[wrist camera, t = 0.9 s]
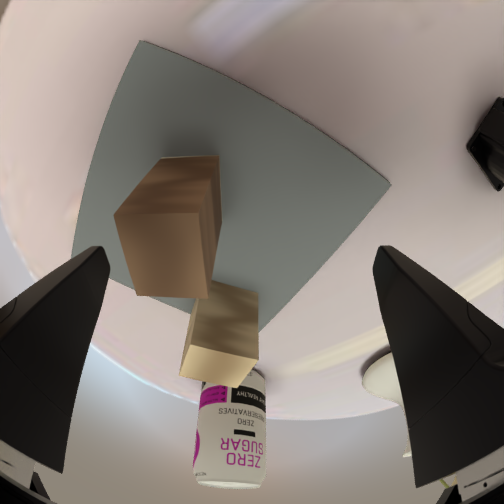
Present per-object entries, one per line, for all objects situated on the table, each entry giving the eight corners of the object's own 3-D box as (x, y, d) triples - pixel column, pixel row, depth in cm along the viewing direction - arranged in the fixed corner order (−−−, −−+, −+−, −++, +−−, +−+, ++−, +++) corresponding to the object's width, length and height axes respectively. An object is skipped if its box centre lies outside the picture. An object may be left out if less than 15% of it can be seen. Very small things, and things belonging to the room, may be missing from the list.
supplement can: (208, 391, 39) (200, 486, 27) (198, 361, 34) (184, 477, 22) (265, 391, 38) (266, 489, 26) (264, 362, 34) (266, 481, 21)
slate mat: (388, 181, 20) (391, 184, 19) (253, 333, 30) (253, 337, 30) (142, 40, 14) (139, 40, 13) (73, 255, 24) (71, 258, 24)
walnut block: (219, 155, 18) (198, 213, 12) (222, 220, 21) (208, 298, 15) (161, 157, 18) (113, 215, 12) (169, 220, 21) (136, 295, 15)
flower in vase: (408, 379, 38) (439, 518, 18) (347, 383, 38) (368, 543, 17) (454, 326, 31) (510, 493, 11) (388, 327, 30) (438, 537, 10)
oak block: (258, 293, 26) (258, 360, 20) (239, 326, 29) (236, 388, 23) (203, 277, 25) (190, 344, 19) (191, 313, 28) (178, 375, 22)
